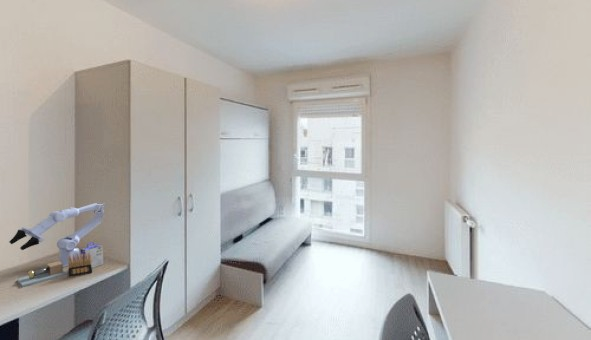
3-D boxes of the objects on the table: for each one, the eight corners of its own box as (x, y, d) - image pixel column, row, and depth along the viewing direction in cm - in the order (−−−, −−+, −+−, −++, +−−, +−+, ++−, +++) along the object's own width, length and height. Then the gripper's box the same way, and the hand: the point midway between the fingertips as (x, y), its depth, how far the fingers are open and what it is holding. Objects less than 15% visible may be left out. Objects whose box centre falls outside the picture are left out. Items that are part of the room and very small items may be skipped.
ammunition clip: (68, 277, 152) (67, 256, 152) (68, 275, 154) (68, 255, 153) (91, 272, 158) (91, 252, 157) (92, 271, 160) (91, 251, 159)
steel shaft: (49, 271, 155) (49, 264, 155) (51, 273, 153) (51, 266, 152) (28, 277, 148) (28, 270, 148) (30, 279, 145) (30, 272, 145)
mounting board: (60, 269, 162) (59, 259, 161) (66, 274, 155) (66, 264, 154) (17, 280, 147) (16, 269, 147) (22, 287, 140) (22, 276, 140)
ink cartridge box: (98, 262, 172) (97, 240, 171) (103, 264, 170) (103, 241, 169) (80, 268, 163) (79, 245, 162) (86, 270, 161) (85, 246, 160)
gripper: (29, 218, 155) (1, 236, 146) (48, 229, 153) (22, 248, 144) (34, 225, 160) (8, 243, 150) (53, 235, 158) (28, 254, 148)
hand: (15, 246), depth 147 cm, fingers open, 7 cm apart
